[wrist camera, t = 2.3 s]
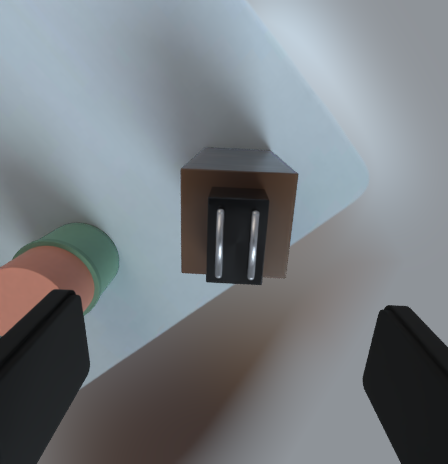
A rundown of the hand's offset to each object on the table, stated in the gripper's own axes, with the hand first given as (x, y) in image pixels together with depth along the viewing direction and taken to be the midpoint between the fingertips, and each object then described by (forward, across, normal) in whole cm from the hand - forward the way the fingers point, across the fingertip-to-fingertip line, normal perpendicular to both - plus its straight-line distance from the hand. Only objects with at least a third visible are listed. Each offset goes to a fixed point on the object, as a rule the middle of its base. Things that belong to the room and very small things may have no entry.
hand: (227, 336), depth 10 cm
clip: (+10, 0, 0) cm, 10 cm away
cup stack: (+26, +17, +10) cm, 32 cm away
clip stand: (+25, -1, 0) cm, 25 cm away
